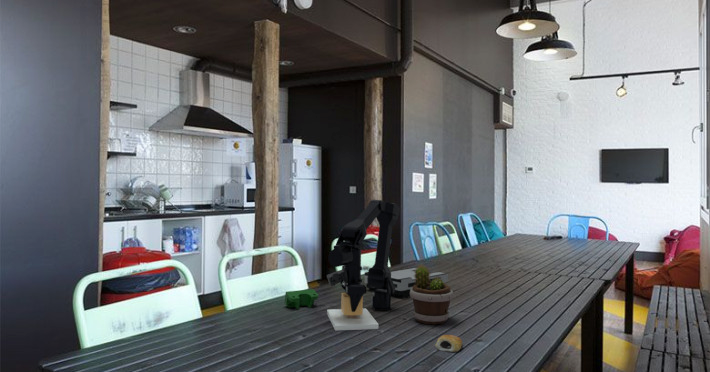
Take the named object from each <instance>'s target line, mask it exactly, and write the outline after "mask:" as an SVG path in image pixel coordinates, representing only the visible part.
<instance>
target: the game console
mask: <svg viewBox="0 0 710 372" xmlns="http://www.w3.org/2000/svg"><path fill="white" fill-rule="evenodd" d="M417 269H418V267H407V268H401V269H394V270H390V272H391V280H392V281H393V283H394V285H395V292H394V293H393V294H391V297H397V298H400V299H405V298H411V297H410V290H411V289H412V288H413V286H414V285H415V284H416V281H415V279H414V278H415V274H416V273H414V271H415V270H417ZM428 273H430V274H431V275H429V276H430V277H429V278H430V280H429V281H428V282H429V283H431V281H432V280H434V279H435V278H436V279H437V277H438V279H439V278H440V279H442V281H443V283H445V282H446V283H447V282H449V274H448V273H445V272H439V271H438V272H430V271H428ZM367 277H368V271H366V272H364V283H363V284H366V289H369V288H368V283H367ZM413 277H414V278H413ZM434 277H435V278H434Z"/></svg>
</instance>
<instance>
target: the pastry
mask: <svg viewBox="0 0 710 372" xmlns="http://www.w3.org/2000/svg"><path fill="white" fill-rule="evenodd" d="M462 341H463V340H462V338H461V337H459V336H456V335H454V334H443V335H441V336H440V337H438V338H437V340H436V343H435V344H434V345H435V346H434V347H435V348H436V350H439V351H442V352H443V351H444V352H449V353H450V352H451V353H457V352H459V351H460V350H461V348H462V346H463V342H462Z"/></svg>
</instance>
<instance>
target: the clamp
mask: <svg viewBox="0 0 710 372" xmlns="http://www.w3.org/2000/svg"><path fill="white" fill-rule="evenodd" d="M284 295H285V296H284V305H285V306H286V307H287V308H295V309H296V310H299V308H300V307H305V306H306V307H309V308H310V309H311V308H312V306H313V304H314V303H315V301H317V300H319V294H318V292H317V291H316V290H315V289H313V288H311V289H301V290H290V291H285V294H284Z"/></svg>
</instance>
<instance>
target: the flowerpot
mask: <svg viewBox="0 0 710 372" xmlns="http://www.w3.org/2000/svg"><path fill="white" fill-rule="evenodd" d="M425 265H426V263H425V264H422V262H420V264H419V265H417V267H416V268H418V269H417V270H415V271H414V273H416V274H415V278H414V277H413V278H414V279H415V281H416V284H415V285H414V286H413V288H412V289H411V290H410V297H409V298H412V304H413V307H414V309H413V311H412V313H413V315H414V318H415V319H416V321H417V322H418V323H421V324H425V325H442V324H445V323H446V322H447V320H448V319H449V315H450V312H449V311H448V310H449V307H450V303H451V301H452V300H453V298H454V292H453V290H452V289H451V287H450V286H449V285H448V284H446V283H445V282H443V281H442V279H440V278H439V279H438V277H437V279H436V278H435V277H434V278H435V279H434V280H432V281H431V283H429V282H428V281H429V280H430V278H429V277H430V276H429V275H431V274H430V273H431V272H429V268H427V266H425ZM428 272H429V273H428Z"/></svg>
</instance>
